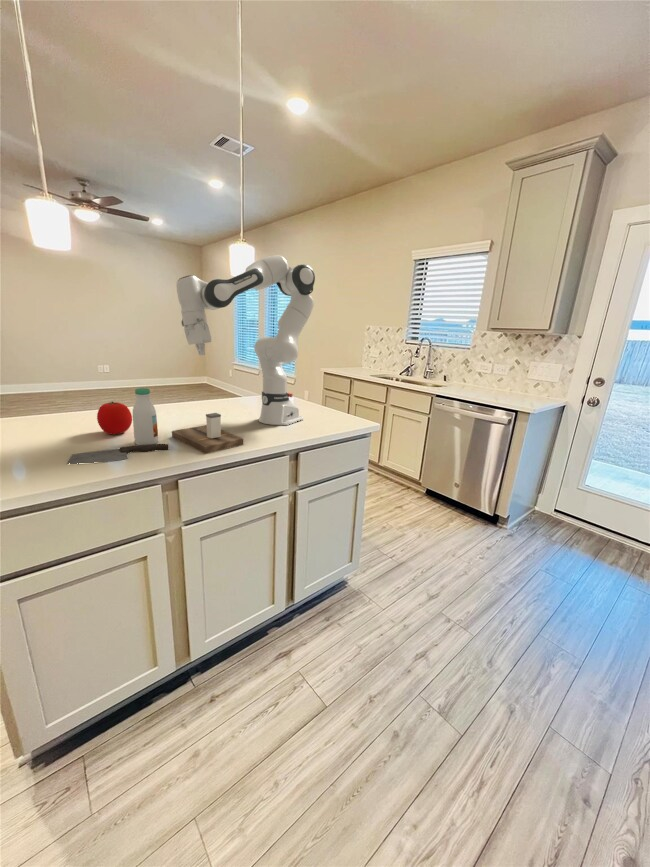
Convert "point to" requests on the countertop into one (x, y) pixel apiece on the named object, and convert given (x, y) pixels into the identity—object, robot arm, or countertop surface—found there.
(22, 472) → the countertop surface
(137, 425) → the milk bottle
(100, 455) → the cleaver
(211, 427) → the white lidded container
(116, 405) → the tomato
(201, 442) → the wooden cutting board
